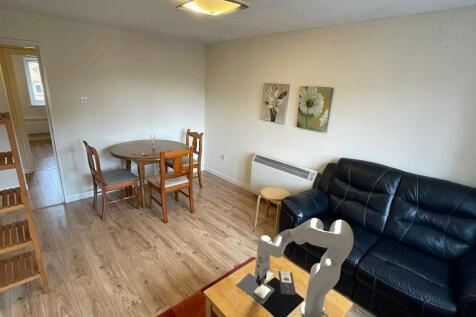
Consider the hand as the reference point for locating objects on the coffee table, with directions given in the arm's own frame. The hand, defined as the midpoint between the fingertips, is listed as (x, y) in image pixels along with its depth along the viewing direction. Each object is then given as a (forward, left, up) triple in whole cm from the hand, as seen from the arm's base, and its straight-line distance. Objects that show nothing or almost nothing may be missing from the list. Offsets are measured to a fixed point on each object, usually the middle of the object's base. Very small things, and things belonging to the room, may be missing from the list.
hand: (261, 280), depth 145 cm
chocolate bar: (-9, -17, -9) cm, 21 cm away
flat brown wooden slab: (0, 0, -3) cm, 2 cm away
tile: (+2, 0, -7) cm, 8 cm away
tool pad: (+6, -13, -8) cm, 16 cm away
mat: (+4, 0, -8) cm, 9 cm away
